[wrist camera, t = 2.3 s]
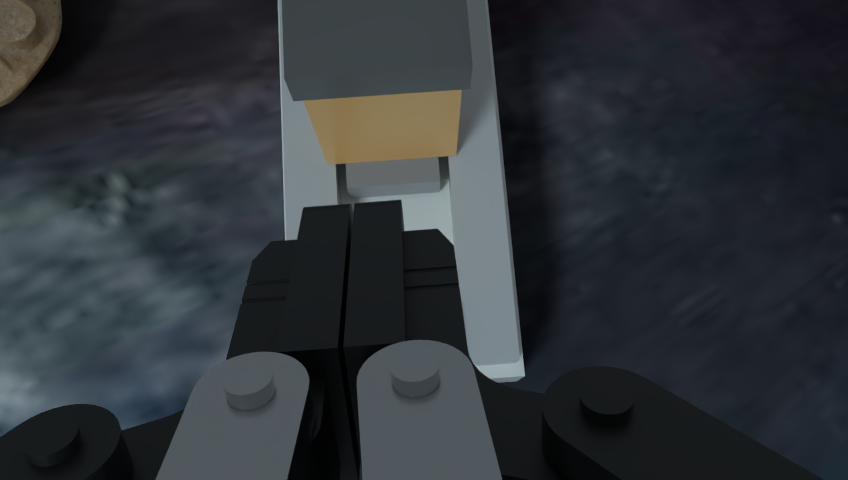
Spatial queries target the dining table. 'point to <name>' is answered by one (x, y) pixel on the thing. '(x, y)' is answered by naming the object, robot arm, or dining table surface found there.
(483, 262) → the base
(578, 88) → the dining table surface
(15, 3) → the pottery oil lamp
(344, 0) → the breaker lever
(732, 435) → the robot arm
